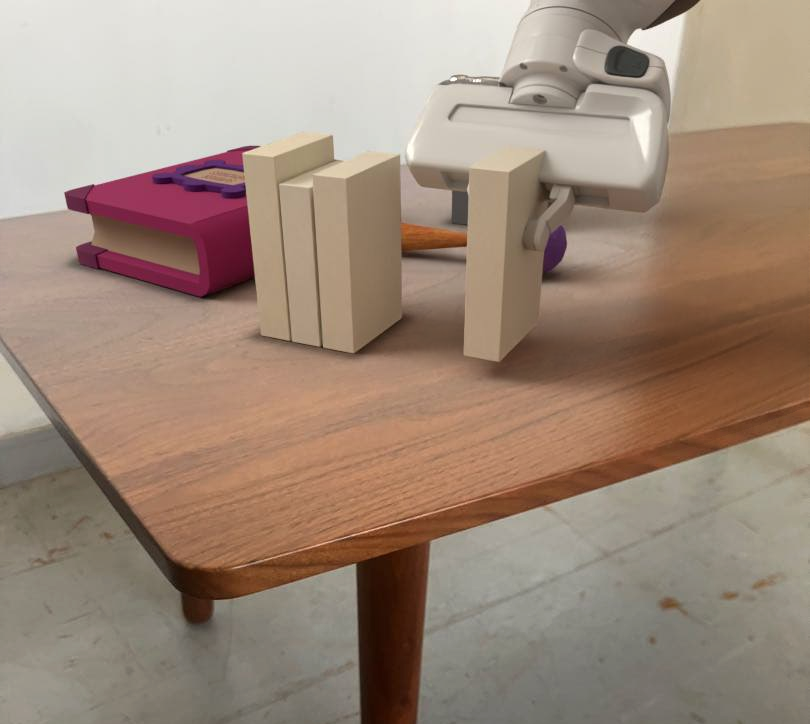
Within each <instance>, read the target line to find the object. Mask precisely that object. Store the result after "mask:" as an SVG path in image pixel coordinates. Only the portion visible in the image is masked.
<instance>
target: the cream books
mask: <svg viewBox="0 0 810 724" xmlns="http://www.w3.org/2000/svg"><path fill="white" fill-rule="evenodd" d="M260 146H261V147H258V148H256V149H253V150H250V151H247V152H244V153H242V155H243V165H244V175H245V184H246V194H247V204H248V213H249V223H250V233H251V242H252V252H253V262H254V271H255V277H254V280H255V289H256V298H257V309H258V318H259V319H258V320H259V327H260V328H259V329H260V335H261V336H262V337H267V338H273V339H277V340H283V341H288V342H290V341H291V342H292V343H298V344H302V345H303V344H304V345H308V346H312V347H317V348H321V347H323V348H324V349H329V350H334V351H339V352H343V353H348V354H356V352H358V351H359V350H361V349H362V348H363V347H365V346H366V345H367V344H369V343H370V342H371V341H373V340H374V339H376V338H377V337H379V335H381V334H383V333H384V332H385V331H386V330H388V329H389V328H391V327H392V326H393V325H395V324H396V323H398V322H399V321H400V320H401V319H402V318H403V290H402V289H403V284H402V283H403V281H402V279H403V277H402V276H403V274H402V273H403V272H402V251H401V223H402V195H401V194H402V193H401V191H402V189H401V187H402V186H401V181H402V179H401V154H400V153H393V152H385V151H384V152H383V151H372V150H368V151H365V152H363V153H361V154H358V155H355V156H352V157H351V158H349V159H346V160H341V161H340V159H335V150H334V149H335V147H334V146H335V145H334V135H333V134H331V133H330V134H329V133H318V132H309V131H308V132H307V131H302V132H298V133H296V134H293V135H290V136H288V137H284V138H282V139H279V140H276V141H273V142H270V143H268V144H267V143H266V144H265V145H260ZM334 159H335V160H336V161H334Z"/></svg>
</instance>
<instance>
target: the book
mask: <svg viewBox="0 0 810 724" xmlns="http://www.w3.org/2000/svg"><path fill="white" fill-rule="evenodd" d="M261 146H262V145H244V146H239V147H237V148H233V149H232V148H231V149H228V150H226V152H221V153H217V154H212V155H209V156H205V157H201V158H197V159H193V160H189V161H185V162H181V163H178V164H174V165H170V166H169V165H168V166H166V167H162V168H158V169H154V170H149V171H146V172H142V173H138V174H133V175H130V176H126V177H123V178H118V179H114V180H110V181H106V182H102V183H98V184H95V183H93V184H89V185H88V184H87V185H84V186H80V187H76V188H72V189H68V190H67V191H63V194H64V199H65V203H66V208H67V210H70V211H73V212H77V213H81V214H85V215H90V216H91V220H92V226H93V231H94V233H93V237H92V240H91V241H88V242H84V243H81V244H79V245H77V246H75V251H76V255H77V260H78V263H79V265H82V266H86V267H89V268H92V269H96V270H98V269H102V270H107V271H109V272H113V273H117V274H119V275H123V276H127V277H131V278H133V279H137V280H141V281H145V282H148V283H152V284H155V285H158V286H162V287H166V288H169V289H172V290H176V291H180V292H183V293H186V294H189V295H192V296H197V297H200V298H202V297H204V296H206V295H212V294H214V293H217V292H220V291H222V290H225V289H228V288H230V287H232V286H235V285H238V284H240V283H243V282H246V281H248V280H251V279H254V278H255V271H254V262H253V252H252V242H251V233H250V223H249V213H248V204H247V194H246V184H245V175H244V165H243V155H242V153H244V152H247V151H250V150H253V149H256V148H258V147H261ZM336 160H337V159H335V158H334V161H336ZM339 160H340V159H339ZM340 161H342V160H340Z"/></svg>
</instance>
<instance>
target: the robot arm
mask: <svg viewBox="0 0 810 724" xmlns="http://www.w3.org/2000/svg"><path fill="white" fill-rule="evenodd" d="M700 1H701V0H530V4H529V6H528V8H527V9H526V11H525V12H524V14H523V15H522V17H521V18H520V20H519V21H518V24H517V26H516V30H515V32H514V35H513V38H512V41H511V43H510V47H509V50H508V53H507V56H506V59H505V62H504V65H503V68H502V71H501V74H500V76H486V75H485V76H483V75H481V76H469V75H466V74H454V75H451V76H450V78H449V79H446V80H443V81H441V82H439V83H437V84H435V85H433V86H432V88H431V89H430V91H429V93H428V96H427V98H426V101H425V104H424V108H423V110H422V112H421V114H420V116H419V118H418V120H417V121H416V123H415V126H414V128H413V130H412V132H411V134H410V137H409V139H408V141H407V144H406V146H405V149H404V158H405V159H404V160H405V162H406V165H407V168H408V169H409V172H410V173H411V175H412V177H413V178H414V180H415V181H416V183H417V184H418V185H419V186H420V187H422V188H428V189H437V190H444V191H452V190H453V191H461V192H468V195H469V170H470V167H472V166H473V165H475V164H477V163H479V162H481V161H483V160H485V159H486V158H488V157H490V156H492V155H494V154H496V153H498V152H499V151H501V150H503V149H505V148H507V147H519V148H530V149H540V150H546V151H545V154H544V157H543V160H542V163H541V166H540V170H539V174H538V181H539V182H545V186H546V189H547V192H546V195H545V198H544V200H545V201H546V202H551V204H552V205H551V206H550V207H549V208H548V209H547V210H546V211H545V212H544V213H543V214H542V215H541V216H540V217H539V219H538V220H537V219H528V220H527V224H526V230H525V231H524V233H523V236H522V243H523V245H524V248H525V249H526V250H532V251H537V252H544V250H545V248H546V244H547V241H548V238H549V235H550V233H553V232H554V231H555V230H556V229H557V228H558V227H559V226H560V225H563V224H564V223H565V222H566V221H567V220H568V219H569V218H570V217H571V216H572V213H573V210H574V207H575V206H581V207H590V208H598V209H605V210H615V211H623V212H632V213H639V214H643V213H646V212H648V211H650V210H651V209H652V208H654V207H655V206H656V205H657V204H659V202H660V200H661V197H662V194H663V191H664V187H665V182H666V178H667V173H668V165H669V157H670V143H669V128H668V127H669V126H668V125H669V121H670V116H671V106H672V98H671V97H672V96H671V86H670V85H671V84H670V79H669V74H668V69H667V66H666V62H665V61H664V59H663V58H662V57H660V56H658V55H656V54H654V53H651V52H648V51H645V50H642V49H640V48H637V47H635V46H633V45H630V44H628V42H629V40H630V38H631V36H632V35H633V34H634V32H635V31H637V30H641V31H647V30H650V29H653V28H655V27H658V26H660V25H662V24H664V23H666V22H668V21H670V20H672V19H674V18H677V17H679V16H681V15H683V14H684V13H686V12H688V11H689V10H691V9H692V8H694V7H695V6H696V5H697V4H698V3H700Z"/></svg>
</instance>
